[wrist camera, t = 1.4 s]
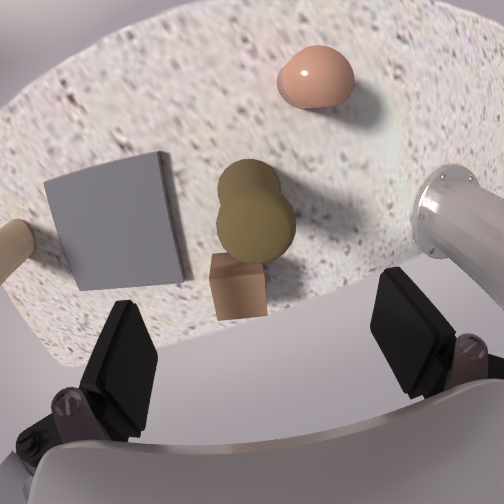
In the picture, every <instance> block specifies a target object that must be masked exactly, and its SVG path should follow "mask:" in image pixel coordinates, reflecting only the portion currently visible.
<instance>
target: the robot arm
mask: <svg viewBox="0 0 504 504" xmlns="http://www.w3.org/2000/svg"><path fill="white" fill-rule="evenodd" d="M412 227H413V235H414V238H415V241H416V243H417V245H418V246H419V248H420V249H421V250H422V251H423V252H424V253H425V254H427V255H428V256H430V257H432V258H435V259H444V258H448V257H449V258H450V259H451V260H452V261H453V262H454V263H456V264H457V265H458V266H459V267H460V268H461V269H462V270H463V271H464V272H465V273H467V274H468V275H469V276H470V277H471V278H472V279H473V280H474V281H475V282H476V283H477V284H478V285H479V286H480V287H481V288H482V289H483V290H485V291H486V293H487V294H488V295H490V297H491V298H492V299H493V300H494V301H495V302H496V303H497V304H498V305H499V306H500V307H501V308H502V309H503V310H504V199H503V198H501V197H499V196H497V195H495V194H493V193H491V192H489V191H487V190H485V189H483V188H481V187H480V186H479V183H478V180H477V179H476V177H475V175H474V174H473V173H472V172H471V171H470V170H469V169H467V168H465V167H463V166H460V165H457V164H449V165H444V166H442V167H440V168H438V169H437V170H436V171H435V172H433V173H432V174H431V175H430V176H429V178H428V179H427V180H426V181H425V183H424V184H423V186H422V188H421V189H420V192H419V194H418V196H417V199H416V202H415V206H414V211H413V217H412ZM370 329H371V332H372V334H373V336H374V338H375V340H376V341H377V343H378V345H379V347H380V349H381V351H382V352H383V354H384V356H385V358H386V360H387V362H388V363H389V365H390V367H391V369H392V371H393V373H394V374H395V377H396V379H397V380H398V382H399V384H400V386H401V388H402V390H403V392H404V393H405V394H407V393H408V395H409V397H410V399H413V398H416V397H418V396H421V395H423V397H424V400H422V401H420V402H417V403H414V404H412V405H409V406H406V407H404V408H401V409H398V410H395V411H393V412H390V413H387V414H384V415H381V416H378V417H374V418H371V419H368V420H365V421H361V422H357V423H354V424H350V425H347V426H342V427H339V428H334V429H330V430H326V431H321V432H316V433H312V434H307V435H301V436H296V437H289V438H283V439H276V440H268V441H261V442H250V443H239V444H224V445H159V444H141V443H130V442H128V438H129V437H138V438H140V435H141V431H144V430H145V427H146V419H147V414H148V408H149V403H150V397H151V392H152V386H153V381H154V376H155V371H156V366H157V361H158V355H157V351H156V349H155V347H154V344H153V342H152V340H151V338H150V335H149V333H148V331H147V328H146V326H145V323H144V321H143V319H142V316H141V314H140V311H139V309H138V306H137V304H135V303H133V302H132V301H131V300H121V301H116V302H115V304H114V306H113V308H112V310H111V312H110V314H109V316H108V318H107V321H106V323H105V325H104V327H103V329H102V331H101V334H100V336H99V338H98V340H97V343H96V345H95V347H94V350H93V352H92V354H91V357H90V359H89V361H88V364H87V366H86V369H85V371H84V374H83V377H82V379H81V382H80V386H79V388H75V387H67V388H65V389H62V390H61V391H59V392H58V393H57V394H56V395H55V397H54V398H53V401H52V404H51V410H52V413H51V414H50V415H48V416H47V417H45V418H43V419H42V420H40V421H39V422H37V423H36V424H34V425H32V426H31V427H29V428H27V429H26V430H24V431H23V432H22V433H20V435H19V436H18V438H17V441H16V453H15V452H14V451H12V452H11V453H10V454H9V455H8V456H7V458H6V459H5V460H4V461H3V462H2V463H1V465H0V504H504V358H500V357H497V356H494V355H491V354H488V349H487V346H486V344H485V342H484V341H483V340H482V339H481V338H480V337H478V336H477V335H474V334H468V333H466V334H462V335H460V336H459V337H458V338H456V336H455V333H456V331H455V330H454V329H453V327H452V326H451V325H450V324H449V322H448V321H447V320H446V319H445V318H444V317H443V315H442V314H441V313H440V312H439V310H438V309H437V308H436V307H435V306H434V305H433V303H431V301H430V300H429V299H428V298H427V297H426V295H425V294H424V293H423V292H422V291H421V290H420V289H419V288H418V286H417V285H416V284H415V283H414V282H413V281H412V280H411V279H410V278H409V277H408V275H407V274H405V272H404V271H403V270H402V269H401V268H400V267H392V268H386V269H385V270H384V272H383V273H381V275H380V279H379V284H378V290H377V295H376V300H375V305H374V310H373V314H372V319H371V323H370Z"/></svg>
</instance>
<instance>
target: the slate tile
mask: <svg viewBox="0 0 504 504" xmlns="http://www.w3.org/2000/svg"><path fill="white" fill-rule="evenodd" d="M44 187H45V191H46V195H47V199H48V202H49V206H50V210H51V213H52V217H53V220H54V223H55V226H56V230H57V233H58V236H59V239H60V242H61V244H62V247H63V250H64V253H65V256H66V258H67V261H68V264H69V266H70V269H71V271H72V274H73V276H74V279H75V281H76V283H77V286H78V288H79V290H80V291H87V290H101V289H114V288H127V287H139V286H151V285H162V284H173V283H184V280H185V275H184V271H183V267H182V263H181V259H180V254H179V250H178V246H177V241H176V237H175V232H174V227H173V222H172V218H171V213H170V208H169V203H168V197H167V192H166V187H165V181H164V175H163V169H162V163H161V157H160V151H156V152H151V153H146V154H141V155H137V156H132V157H128V158H123V159H119V160H115V161H111V162H107V163H103V164H100V165H96V166H92V167H89V168H85V169H82V170H78V171H75V172H72V173H68V174H65V175H62V176H59V177H56V178H53V179H50V180H47V181H45V182H44Z"/></svg>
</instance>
